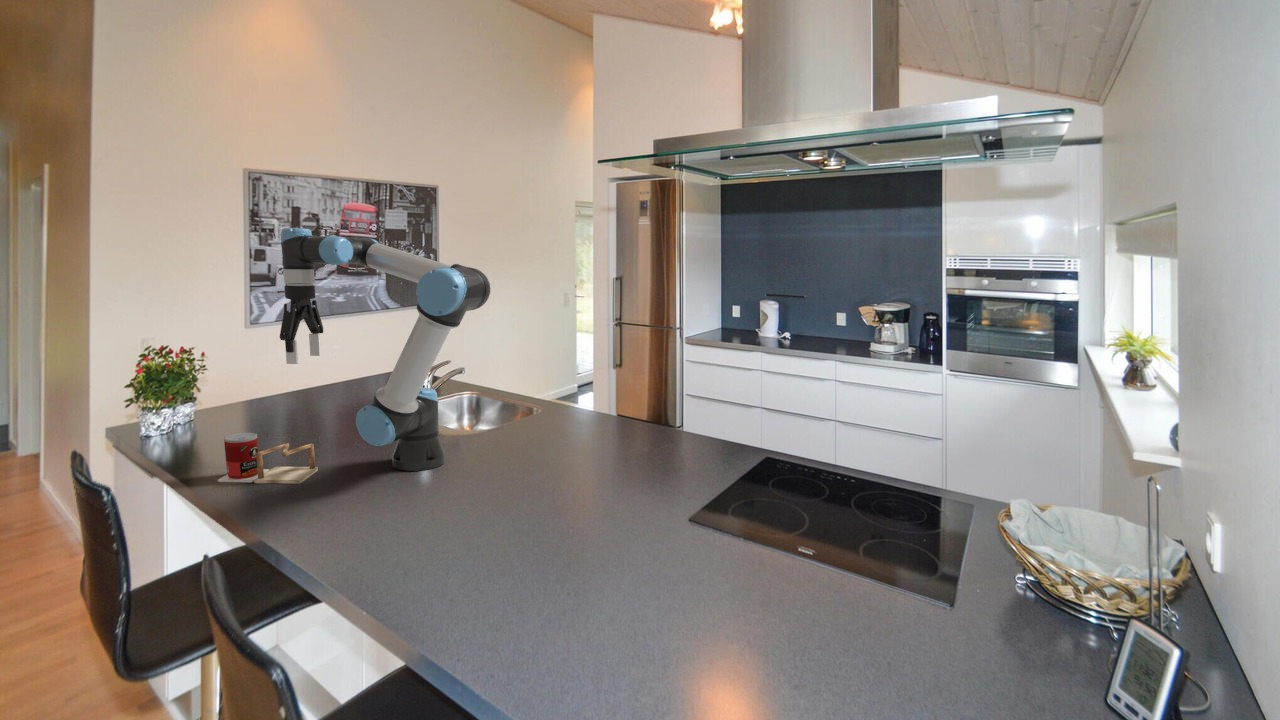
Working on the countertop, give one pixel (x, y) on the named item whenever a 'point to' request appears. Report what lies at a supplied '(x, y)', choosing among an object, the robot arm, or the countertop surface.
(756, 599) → the countertop surface
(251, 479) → the coaster
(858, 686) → the countertop surface
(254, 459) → the canned food
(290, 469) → the wooden zigzag stand
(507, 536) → the countertop surface
